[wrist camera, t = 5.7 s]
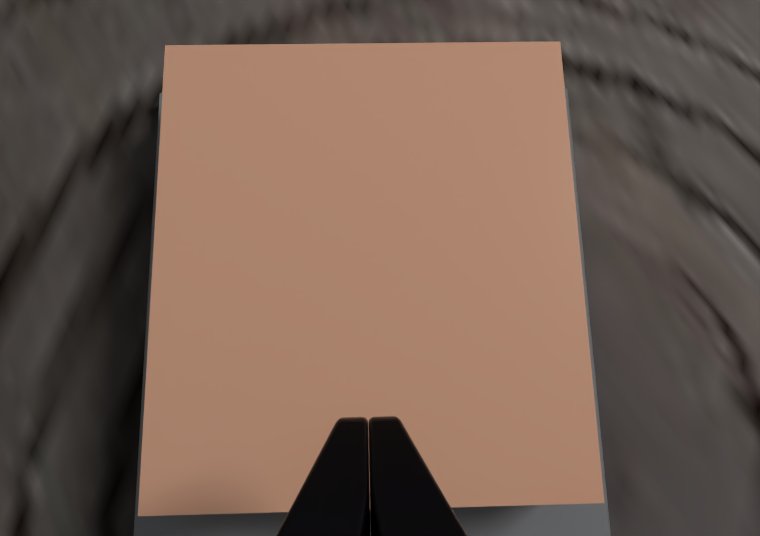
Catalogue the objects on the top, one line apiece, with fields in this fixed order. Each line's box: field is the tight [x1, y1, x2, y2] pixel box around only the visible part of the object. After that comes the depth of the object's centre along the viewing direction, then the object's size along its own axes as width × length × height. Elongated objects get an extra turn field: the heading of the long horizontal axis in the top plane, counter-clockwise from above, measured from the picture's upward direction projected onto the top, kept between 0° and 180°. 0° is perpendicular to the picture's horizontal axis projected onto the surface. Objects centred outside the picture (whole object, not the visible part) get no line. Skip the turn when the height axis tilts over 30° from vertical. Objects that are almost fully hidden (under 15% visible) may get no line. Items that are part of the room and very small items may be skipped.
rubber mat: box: [134, 88, 611, 536], centre depth 15 cm, size 14×11×1 cm
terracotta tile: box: [138, 42, 604, 516], centre depth 14 cm, size 2×9×10 cm
